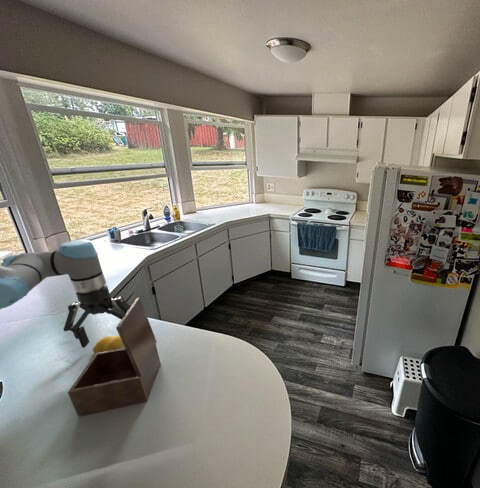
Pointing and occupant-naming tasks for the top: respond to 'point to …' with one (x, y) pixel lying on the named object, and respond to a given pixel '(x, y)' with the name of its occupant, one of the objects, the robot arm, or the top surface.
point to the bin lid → (137, 336)
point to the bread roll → (108, 344)
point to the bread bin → (112, 382)
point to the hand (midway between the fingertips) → (109, 340)
